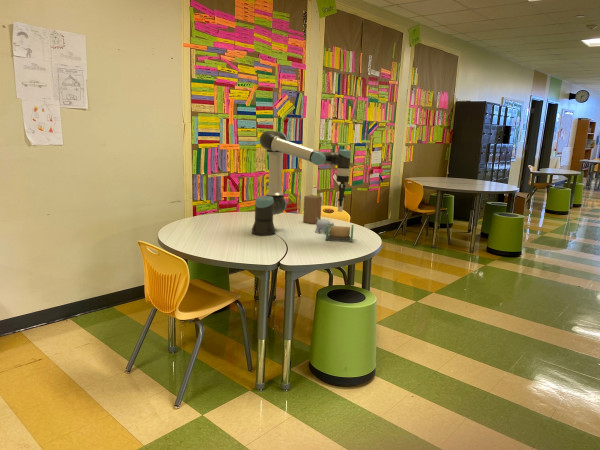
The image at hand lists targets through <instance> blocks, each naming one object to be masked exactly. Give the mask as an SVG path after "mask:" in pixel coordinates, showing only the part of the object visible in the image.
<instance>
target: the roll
mask: <svg viewBox="0 0 600 450" xmlns="http://www.w3.org/2000/svg"><path fill="white" fill-rule="evenodd" d="M329 235H330V237H344V238H349V236H351V227H350V226H342V225H340V226H339V225H334V226H331V227H330V232H329Z"/></svg>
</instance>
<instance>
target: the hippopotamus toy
mask: <svg viewBox="0 0 600 450" xmlns="http://www.w3.org/2000/svg"><path fill="white" fill-rule="evenodd" d="M316 218H317V217H316ZM317 220H318V221H317V223H316V224H315V227H316V228H315V230H314V233H316V234H321V235H326V226H327V224H328V223H330V224H329V233H330V227H331V226H335V224H334V222H331V221H330V220H328V219H321V220H319V219H318V218H317Z"/></svg>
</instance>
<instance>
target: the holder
mask: <svg viewBox="0 0 600 450" xmlns="http://www.w3.org/2000/svg"><path fill="white" fill-rule="evenodd" d="M329 224H330V223H328V224H327V226H326V232H325V233H326V234H325V241H329V242H339V243H340V242H343V243H353V240H354V239H353V238H354V226H355V225H354V224H351V227H350V235H349V238H344V237H330V232H329Z"/></svg>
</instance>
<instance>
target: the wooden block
mask: <svg viewBox="0 0 600 450" xmlns="http://www.w3.org/2000/svg"><path fill="white" fill-rule="evenodd" d="M303 198H304V199H303V215H302V216H303V217H302V222H303V223H305V224H311V225H316V224H317V221H318V220H317V218H318V219H319V220H322V217H321V216H322V199H323V197H322V196H321V195H316V194H315V195H314V194H308V195H304V197H303ZM316 217H317V218H316Z"/></svg>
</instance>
